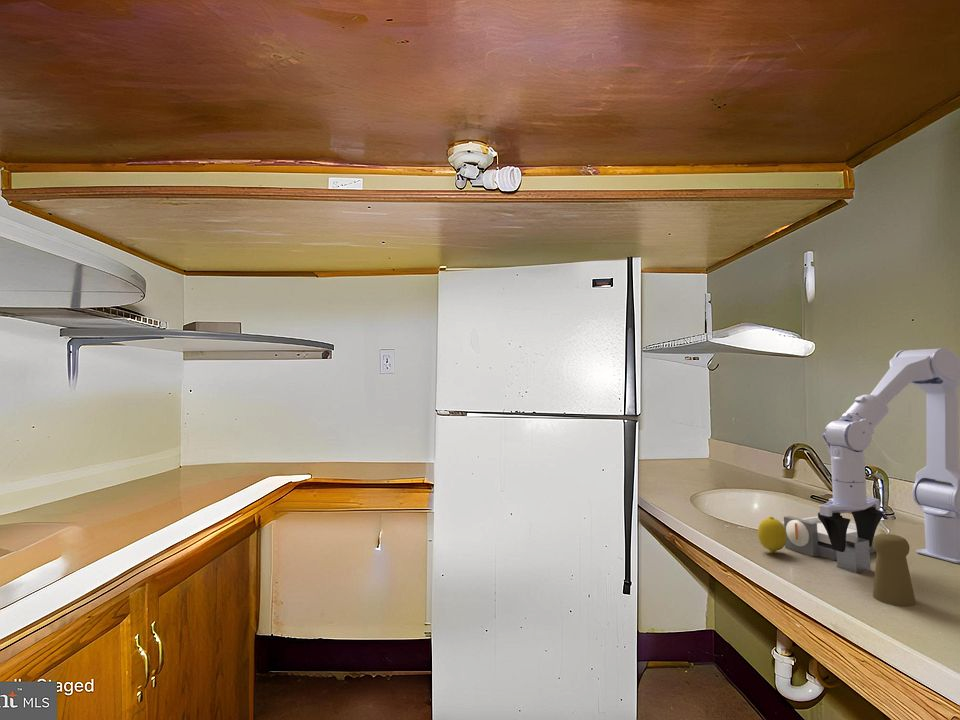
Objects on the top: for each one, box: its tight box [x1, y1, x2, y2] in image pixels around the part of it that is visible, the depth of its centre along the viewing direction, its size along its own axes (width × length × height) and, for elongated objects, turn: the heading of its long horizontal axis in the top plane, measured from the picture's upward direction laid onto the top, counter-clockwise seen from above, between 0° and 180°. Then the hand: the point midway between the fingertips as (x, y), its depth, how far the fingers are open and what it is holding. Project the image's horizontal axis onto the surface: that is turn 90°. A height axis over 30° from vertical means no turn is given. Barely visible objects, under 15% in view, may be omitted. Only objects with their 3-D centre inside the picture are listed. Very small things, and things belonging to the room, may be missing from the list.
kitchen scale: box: [780, 515, 877, 561], centre depth 125 cm, size 16×14×7 cm
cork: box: [872, 533, 917, 607], centre depth 96 cm, size 6×6×11 cm
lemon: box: [757, 516, 786, 554], centre depth 122 cm, size 6×6×8 cm
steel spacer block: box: [836, 535, 872, 574], centre depth 111 cm, size 4×4×6 cm
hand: (852, 547), depth 111 cm, fingers open, 7 cm apart
